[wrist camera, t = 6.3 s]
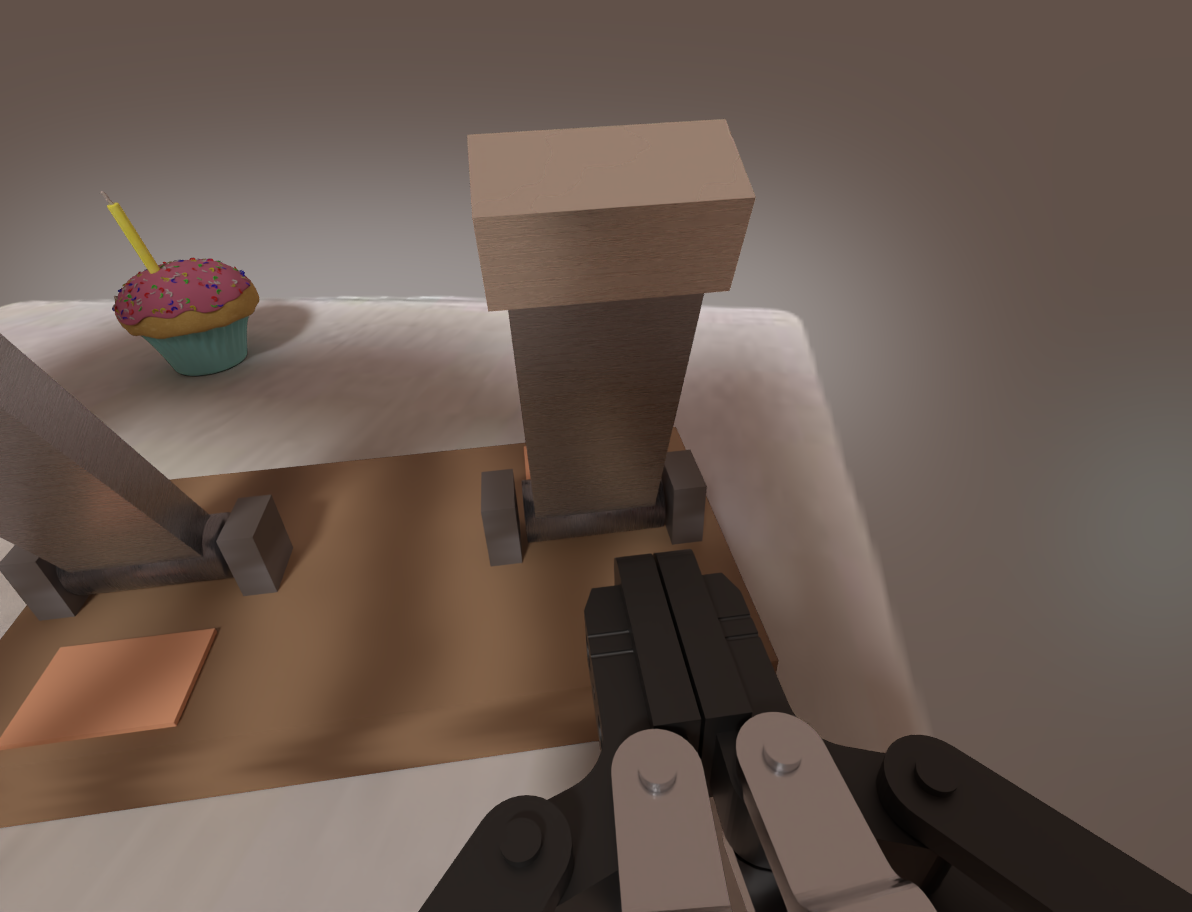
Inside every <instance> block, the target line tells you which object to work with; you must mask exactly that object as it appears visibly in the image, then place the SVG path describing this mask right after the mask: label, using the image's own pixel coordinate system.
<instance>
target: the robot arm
mask: <svg viewBox="0 0 1192 912" xmlns="http://www.w3.org/2000/svg"><path fill="white" fill-rule="evenodd" d="M584 618H585V633H586V648H587V662H588V669H589V675H590V682H591V688H592V696H593V703H594V709H595V716H596V723H597V730H598V737H599V744H600V750H601V753H600V756H599V759H598V761H597V763H596V765H595V766H594V768H593V769H592V771H591V772H590V773H589V774H588V775H587V776H586V777H585V778H584V779H583V780H582V781H580V782H579V783H577V784H576V785H574V786H573V787H571V788H569V789H567V790H565V791H563V792H561V793H560V794H558V795H556V796H554V797H552V798H550V799H548V800H546V799H544V798H541V797H537V796H530V795H524V796H517V797H513V798H510V799H507V800H505V801H503V802H501V803H500V804H498V805H497V806H495V807H494V808H493V809H492V810H491V811H490V812H489V813H488V814H487V815H486V816H485V817H484V819H483V820H482V821H481V823H480V824H479V826H478V827H477V828H476V830H475V831H474V833H473V834H472V836H471V837H470V838H469V840H468V841H467V843H466V844H465V846H464V847H463V848H462V850H461V851H460V853H459V854H458V856H457V857H456V859H455V860H454V861H453V863H452V864H451V866H450V867H449V869H448V870H447V871H446V873H445V874H444V876H443V877H442V879H441V880H440V881H439V883H438V884H437V886H436V887H435V889H434V890H433V891H432V893H431V894H430V896H429V897H428V899H427V900H426V901H425V903H424V904H423V906H422V907H421V909H420V910H419V911H418V912H732V908H731V905H730V901H729V896H728V891H727V886H726V881H725V876H724V871H723V866H722V861H721V856H720V851H719V846H718V840H717V835H716V830H715V825H714V820H713V815H712V810H711V805H710V800H709V797H714V800H715V804H716V808H717V811H718V815H719V818H720V822H721V825H722V829H723V833H722V835H723V843H724V846H725V850H726V853H727V855H728V858H729V861H730V864H731V867H732V870H733V873H734V875H735V878H736V881H737V884H738V887H739V890H740V893H741V895H742V898H743V901H744V904H745V907H746V910H747V912H1192V894H1190V893H1188V892H1186V891H1185V890H1183V889H1182V888H1180V887H1179V886H1177V885H1175V884H1174V883H1172V882H1171V881H1169V880H1167V879H1166V878H1164V877H1163V876H1161V875H1159V874H1158V873H1156V872H1155V871H1153V870H1151V869H1150V868H1148V867H1147V866H1145V865H1143V864H1142V863H1140V862H1139V861H1137V860H1135V859H1134V858H1132V857H1130V856H1129V855H1127V854H1126V853H1124V852H1122V851H1121V850H1119V849H1118V848H1116V847H1114V846H1113V845H1111V844H1110V843H1108V842H1106V841H1104V840H1103V839H1101V838H1100V837H1098V836H1097V835H1095V834H1093V833H1092V832H1090V831H1089V830H1087V829H1085V828H1084V827H1082V826H1081V825H1079V824H1077V823H1076V822H1074V821H1072V820H1071V819H1069V818H1068V817H1066V816H1064V815H1063V814H1061V813H1059V812H1058V811H1056V810H1055V809H1053V808H1051V807H1050V806H1048V805H1047V804H1045V803H1043V802H1042V801H1040V800H1039V799H1037V798H1035V797H1034V796H1032V795H1031V794H1029V793H1027V792H1026V791H1024V790H1022V789H1021V788H1019V787H1018V786H1016V785H1015V784H1013V783H1011V782H1010V781H1008V780H1006V779H1005V778H1003V777H1002V776H1000V775H998V774H997V773H995V772H993V771H992V770H990V769H989V768H987V767H986V766H984V765H982V764H981V763H979V762H978V761H976V760H974V759H973V758H971V757H969V756H968V755H966V754H965V753H963V752H961V751H960V750H958V749H957V748H955V747H953V746H951V745H950V744H948V743H946V742H944V741H942V740H939V739H937V738H933V737H930V736H924V735H909V736H904V737H902V738H900V739H897V740H896V741H895V742H893V743H892V744H891V745H890V747H889V748H888V750H887V752H886V753H880V752H874V751H868V750H863V749H857V748H851V747H845V746H841V745H837V744H834V743H831V742H828V741H826V740H824V739H822V738H821V737H820V736H819V735H818V734H817V732H816V731H815V730H814V729H813V728H812V727H811V726H809V725H808V724H807V723H805V722H804V721H802V720H801V719H799V718H797V717H796V716H795V715H794V713H793V712H792V710H791V708H790V706H789V704H788V701H787V699H786V697H785V694H784V692H783V690H782V687H781V685H780V682H779V680H778V678H777V675H776V673H775V671H774V668H773V666H772V664H771V661H770V659H769V657H768V654H767V652H766V649H765V647H764V645H763V642H762V640H761V638H760V637H759V635H758V631H757V628H756V626H755V624H754V621H753V619H752V618H751V616H750V612H749V609H748V607H747V605H746V602H745V600H744V598H743V595H742V593H741V591H740V590H739V589H738V588H737V587H736V586H735V585H734V584H733V583H732V582H731V581H730V580H729V579H728V578H727V577H726V576H725V575H724V574H723V573H722V572H721V573H713V574H705V575H702V574H701V571H700V568H699V566H698V563H697V560H696V557H695V555H694V553H693V551H692V550H691V549H684V550H676V551H667V552H659V553H654V554H653V555H652V554H651V553H649V554H641V555H633V556H624V557H616V558H614V586H606V587H598V588H592V589H591V592H590V595H589V598H588V600H587V603H586V606H585V609H584Z"/></svg>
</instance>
